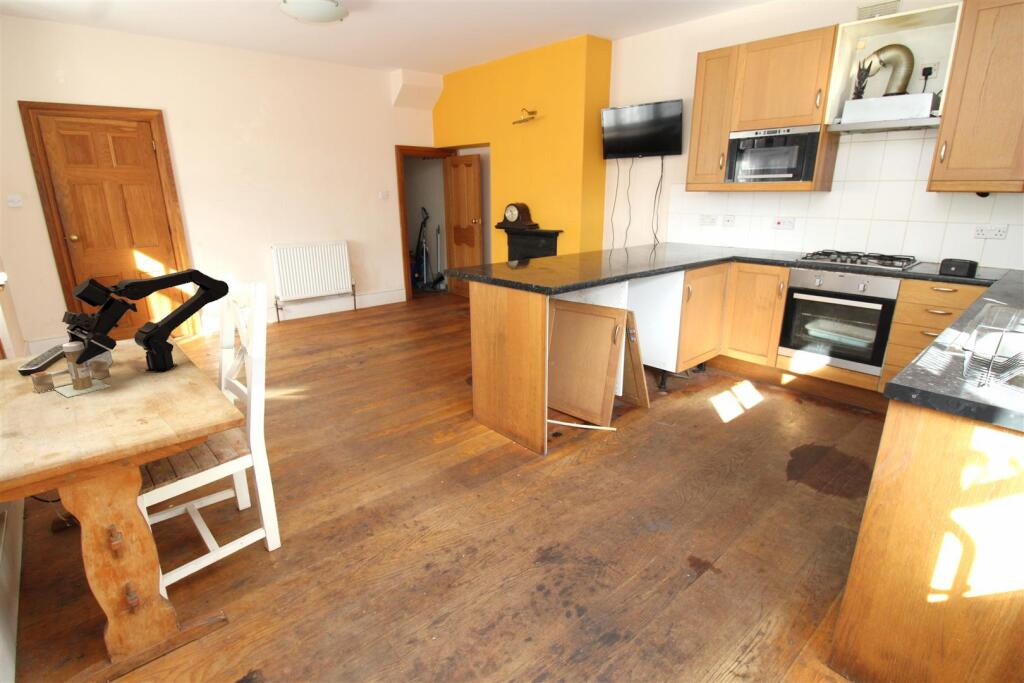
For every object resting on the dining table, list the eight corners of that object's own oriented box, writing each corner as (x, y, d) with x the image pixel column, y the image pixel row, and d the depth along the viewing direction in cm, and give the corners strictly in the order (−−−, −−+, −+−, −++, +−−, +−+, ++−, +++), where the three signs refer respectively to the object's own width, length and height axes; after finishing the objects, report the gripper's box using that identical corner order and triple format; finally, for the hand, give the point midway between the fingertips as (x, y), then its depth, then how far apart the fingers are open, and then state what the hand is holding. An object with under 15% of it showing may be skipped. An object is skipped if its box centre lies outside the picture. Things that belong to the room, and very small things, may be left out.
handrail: (105, 373, 157) (102, 358, 156) (110, 376, 156) (106, 360, 154) (35, 390, 144) (30, 373, 142) (39, 393, 142) (34, 376, 140)
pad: (96, 379, 152) (95, 378, 152) (110, 387, 147) (109, 385, 147) (54, 390, 144) (53, 388, 144) (67, 398, 139) (67, 396, 139)
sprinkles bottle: (92, 388, 145) (81, 344, 141) (71, 391, 143) (60, 346, 139) (94, 383, 149) (83, 340, 145) (74, 385, 147) (63, 342, 143)
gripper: (67, 296, 147) (27, 340, 141) (93, 304, 137) (52, 353, 131) (105, 316, 155) (69, 359, 149) (132, 326, 146) (95, 372, 140)
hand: (70, 360), depth 142 cm, fingers open, 9 cm apart
